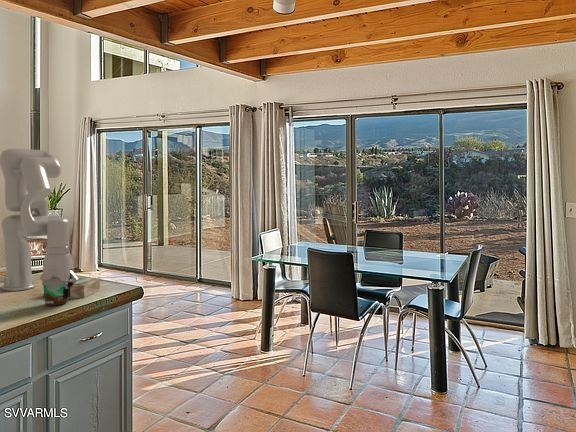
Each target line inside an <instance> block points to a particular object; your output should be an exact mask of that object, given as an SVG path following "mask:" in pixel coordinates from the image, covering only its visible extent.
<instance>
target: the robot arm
mask: <svg viewBox="0 0 576 432" xmlns="http://www.w3.org/2000/svg"><path fill="white" fill-rule="evenodd" d="M0 170H1V171H2V175H3V179H4V200H5V201H4V202H5V207H6V209H7V210H8V211H9V212H19V214H12V215H8V216H4V218H3V219H2V221H1V231H2V236H3V240H4V253H5V254H4V256H5V258H4V259H5V277H0V283H1V284H2V283H3V286H1V287H2V290H3V291H7V292H8V291H9V292H17V291H18V292H19V291H26V290H30V289H34V288H35V287H36V286H37V283H36V282H35V281H33V280H32V279H33V274H32V249H31V245H30V243H29V242H28V241H27V239H25V237H32V238H33V237H35V238H36V237H45V236H46V246H45V247H44V251H45V252H46V254H45V255H44V258H43V262H42V263H43V264H42V274H41V276H39V279H40V280H41V282H42V281H43V280H51V279H60V280H61V281H62V282H65V284H64V287H65V289H64V290H63V295H64V299H67V298H68V299H70V298H71V297H70V287H72V285H73V284H74V283H75V282H77V281H78V278H79V277H78V276H77V275H76V274H75V271H74V270H75V268H74V260H73V257H72V254H71V252H70V222H69V220H68V218H66V217H64V218H63V217H62V216H60V215H48V214H49V213H48V212H49V209H48V197H49V196H50V195H51V194H52V188H51V187H52V186H51V183H50V181H49V179H55V178H56V179H57V178H58V177H59V176H60V175H61V173H62V171H61V170H62V168H61V163H60V161H59V160H58V159H57V158H56V157H55V156H54V155H53V154H51V153H49V152H47V151H46V150H43V149H30V148H29V149H28V148H7V149H5V150H3V151H1V152H0ZM32 212H33V213H32ZM70 279H72V281H70ZM67 281H69V282H68V284H67Z"/></svg>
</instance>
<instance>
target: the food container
mask: <svg viewBox="0 0 576 432" xmlns="http://www.w3.org/2000/svg"><path fill="white" fill-rule="evenodd" d="M70 281H71V279H70ZM68 282H69V281H67V284H68ZM64 284H65V282H62V281H61V280H60V279H51V280H43V281H42V280H41V286H43V295H44V297H43V298H44V303H45V304H44V305H45V306H58V305H65V304H67V303H68V302H69V298H67V299H64V295H63V290H64V289H65V287H64Z"/></svg>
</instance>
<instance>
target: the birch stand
mask: <svg viewBox="0 0 576 432" xmlns="http://www.w3.org/2000/svg"><path fill="white" fill-rule="evenodd" d="M77 278H78V281H77V282H75V283H74V284H73V285H72V287H70V298H79V299H80V298H81V299H85V298H87V297H89V296H91V295H93V294H94V295H95V293H98V292H100V290H101V287H100V284H101V283H100V280H101V279H100V278H95V277H77ZM71 281H72V279H71Z"/></svg>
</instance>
